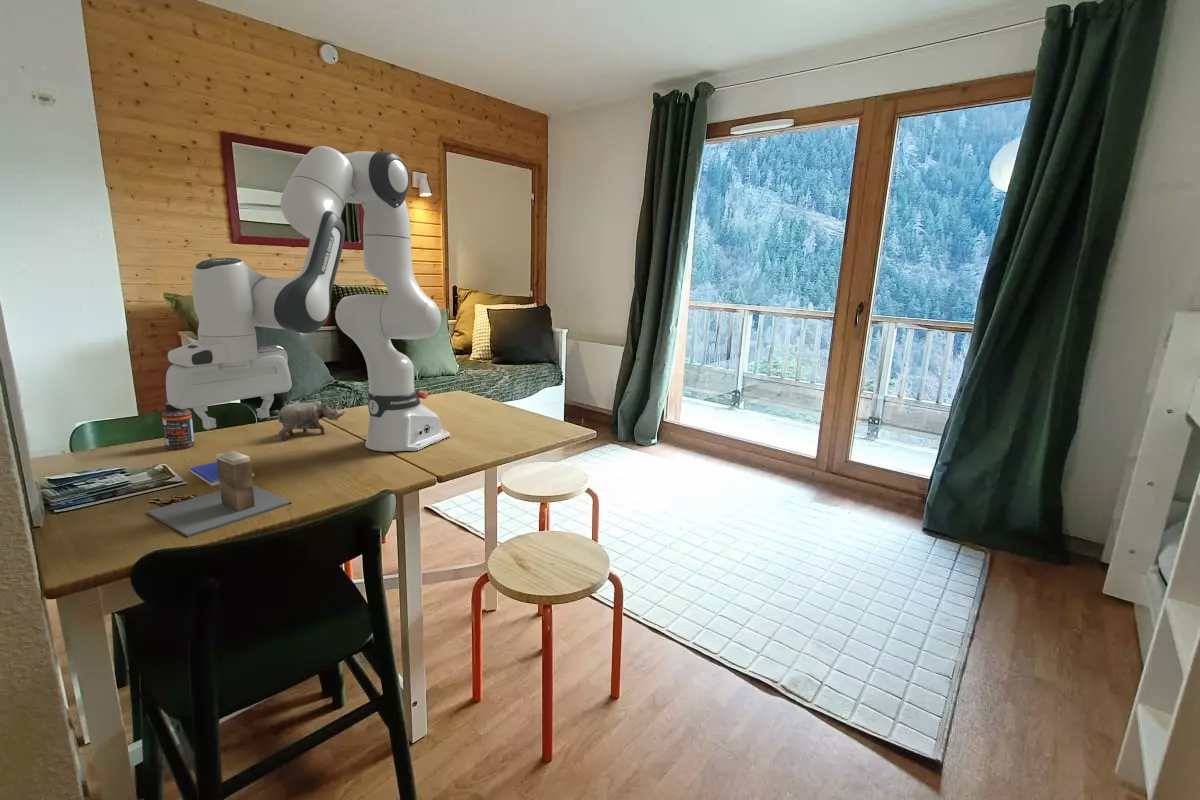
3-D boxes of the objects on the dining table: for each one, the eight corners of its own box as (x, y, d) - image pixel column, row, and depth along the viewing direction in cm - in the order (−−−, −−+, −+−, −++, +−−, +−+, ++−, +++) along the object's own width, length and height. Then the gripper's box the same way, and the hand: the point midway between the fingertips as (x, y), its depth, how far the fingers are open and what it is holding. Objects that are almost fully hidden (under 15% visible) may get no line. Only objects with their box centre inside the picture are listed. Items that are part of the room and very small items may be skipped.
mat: (248, 484, 120) (248, 482, 119) (291, 503, 111) (291, 501, 111) (146, 513, 105) (146, 511, 104) (187, 537, 96) (187, 534, 96)
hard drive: (254, 471, 124) (231, 458, 132) (211, 481, 118) (189, 467, 125) (254, 478, 125) (231, 465, 132) (212, 488, 118) (190, 474, 126)
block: (238, 499, 111) (233, 450, 109) (254, 506, 108) (249, 456, 106) (222, 503, 109) (216, 454, 107) (238, 511, 106) (232, 461, 104)
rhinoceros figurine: (258, 427, 151) (292, 380, 153) (305, 448, 161) (336, 403, 163) (266, 437, 146) (301, 388, 148) (314, 457, 155) (346, 411, 158)
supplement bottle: (166, 451, 137) (160, 406, 135) (164, 445, 142) (158, 401, 139) (196, 447, 141) (190, 403, 139) (194, 441, 145) (188, 398, 143)
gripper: (277, 342, 113) (283, 409, 117) (156, 353, 96) (167, 431, 100) (295, 345, 110) (301, 414, 113) (173, 358, 93) (184, 438, 96)
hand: (237, 422), depth 106 cm, fingers open, 8 cm apart
